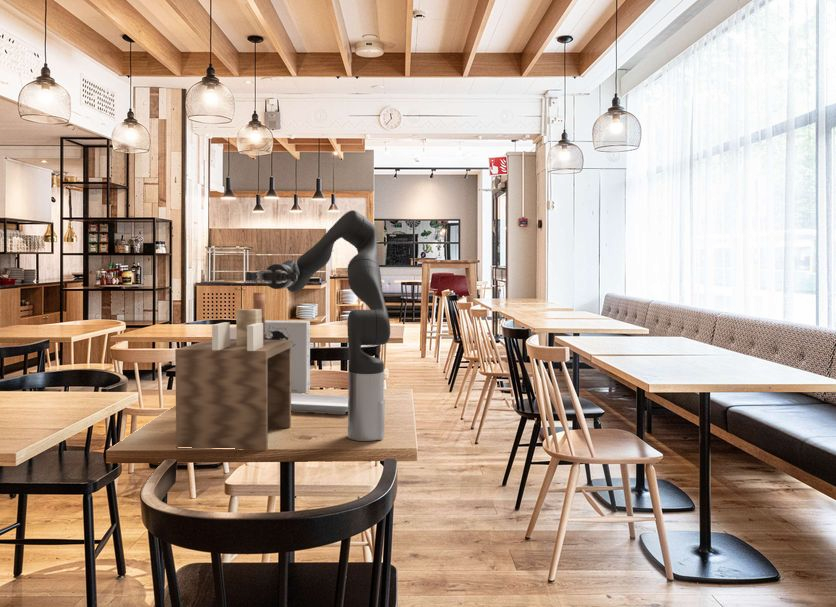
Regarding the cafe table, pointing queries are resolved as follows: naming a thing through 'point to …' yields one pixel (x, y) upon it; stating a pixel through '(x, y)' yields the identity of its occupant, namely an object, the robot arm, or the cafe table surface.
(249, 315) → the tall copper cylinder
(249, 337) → the upright cream panels
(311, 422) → the cafe table surface
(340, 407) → the tray
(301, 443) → the cafe table surface
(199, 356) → the open wooden cabinet
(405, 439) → the cafe table surface
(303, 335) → the cereal box
